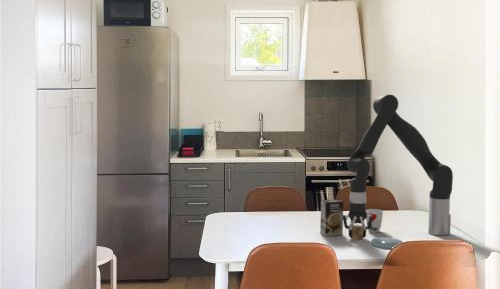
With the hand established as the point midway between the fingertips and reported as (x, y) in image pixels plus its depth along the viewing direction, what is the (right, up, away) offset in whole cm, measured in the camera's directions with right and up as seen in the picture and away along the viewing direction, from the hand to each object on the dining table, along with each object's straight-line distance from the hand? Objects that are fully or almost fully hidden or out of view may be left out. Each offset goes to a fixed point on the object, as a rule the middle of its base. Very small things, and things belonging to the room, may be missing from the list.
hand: (357, 237), depth 258 cm
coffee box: (-11, 0, +9) cm, 14 cm away
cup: (+11, 0, +14) cm, 18 cm away
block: (0, -1, 0) cm, 1 cm away
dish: (+11, -2, -10) cm, 15 cm away
